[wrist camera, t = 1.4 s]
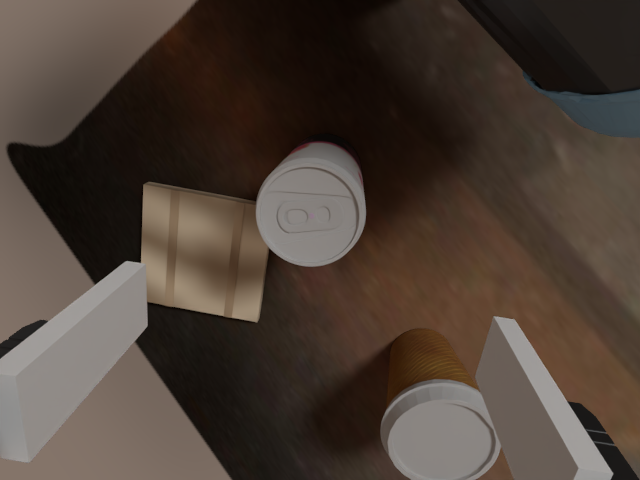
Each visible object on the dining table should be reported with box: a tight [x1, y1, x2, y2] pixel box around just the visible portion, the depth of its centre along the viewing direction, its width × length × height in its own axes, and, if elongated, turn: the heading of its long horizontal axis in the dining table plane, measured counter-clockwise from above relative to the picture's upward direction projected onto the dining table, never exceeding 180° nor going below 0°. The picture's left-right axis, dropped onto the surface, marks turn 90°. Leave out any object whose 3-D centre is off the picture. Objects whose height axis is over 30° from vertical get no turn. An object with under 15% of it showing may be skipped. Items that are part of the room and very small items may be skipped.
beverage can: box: [256, 134, 366, 267], centre depth 32 cm, size 6×7×15 cm
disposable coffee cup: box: [380, 329, 501, 480], centre depth 39 cm, size 10×10×12 cm
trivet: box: [141, 182, 269, 322], centre depth 42 cm, size 12×12×1 cm
